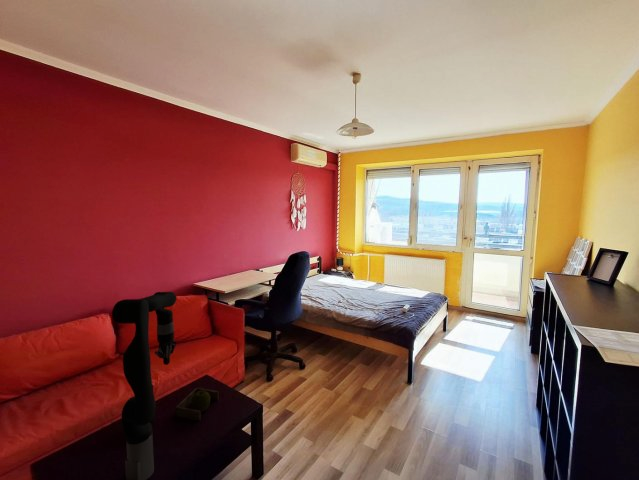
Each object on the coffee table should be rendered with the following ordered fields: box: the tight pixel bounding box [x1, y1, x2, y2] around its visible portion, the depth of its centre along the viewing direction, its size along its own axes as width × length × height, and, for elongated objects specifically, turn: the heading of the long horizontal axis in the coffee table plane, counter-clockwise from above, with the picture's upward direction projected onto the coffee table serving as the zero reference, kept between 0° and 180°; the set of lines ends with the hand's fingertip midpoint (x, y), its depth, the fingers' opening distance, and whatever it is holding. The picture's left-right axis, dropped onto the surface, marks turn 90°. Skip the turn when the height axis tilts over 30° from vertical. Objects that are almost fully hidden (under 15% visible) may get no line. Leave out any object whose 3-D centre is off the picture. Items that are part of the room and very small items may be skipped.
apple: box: [190, 390, 211, 413], centre depth 162 cm, size 10×10×11 cm
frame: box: [174, 387, 220, 422], centre depth 164 cm, size 18×14×5 cm
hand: (166, 363), depth 149 cm, fingers closed
